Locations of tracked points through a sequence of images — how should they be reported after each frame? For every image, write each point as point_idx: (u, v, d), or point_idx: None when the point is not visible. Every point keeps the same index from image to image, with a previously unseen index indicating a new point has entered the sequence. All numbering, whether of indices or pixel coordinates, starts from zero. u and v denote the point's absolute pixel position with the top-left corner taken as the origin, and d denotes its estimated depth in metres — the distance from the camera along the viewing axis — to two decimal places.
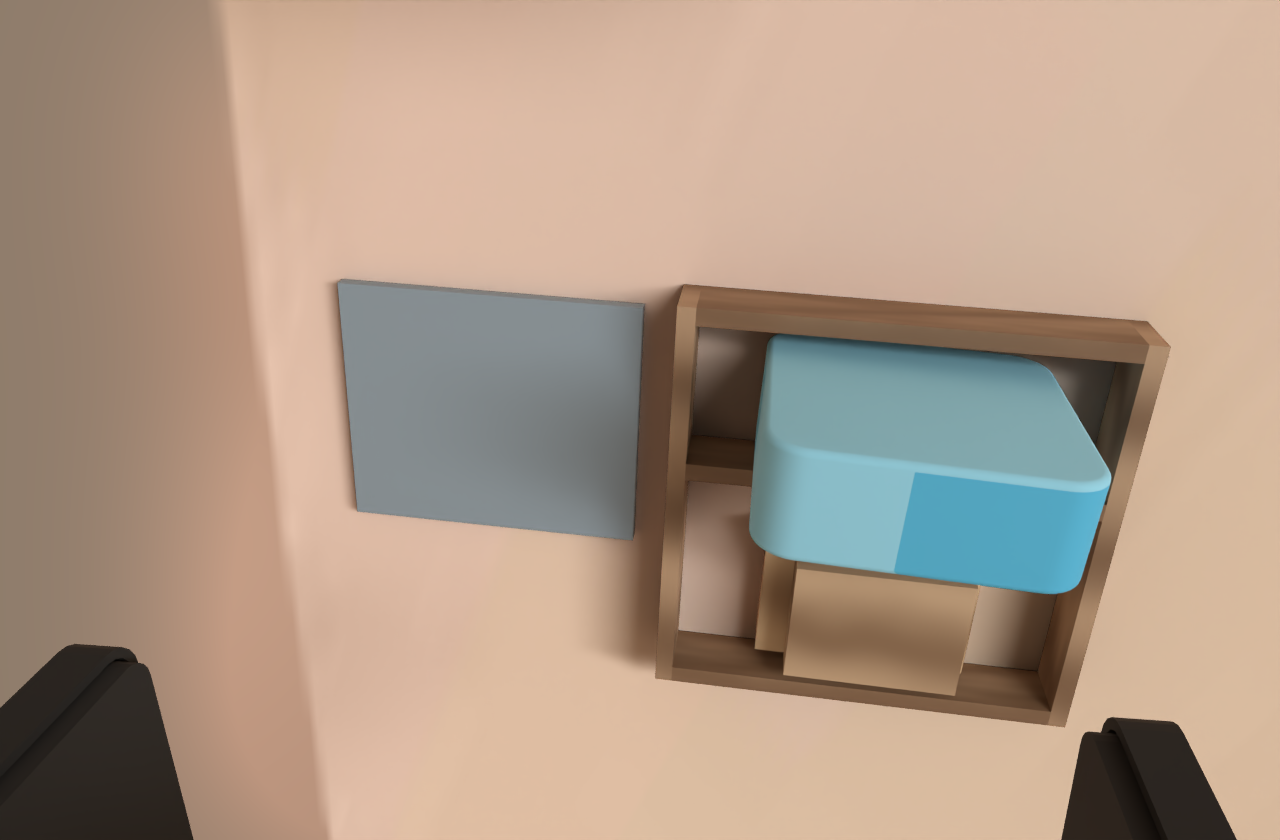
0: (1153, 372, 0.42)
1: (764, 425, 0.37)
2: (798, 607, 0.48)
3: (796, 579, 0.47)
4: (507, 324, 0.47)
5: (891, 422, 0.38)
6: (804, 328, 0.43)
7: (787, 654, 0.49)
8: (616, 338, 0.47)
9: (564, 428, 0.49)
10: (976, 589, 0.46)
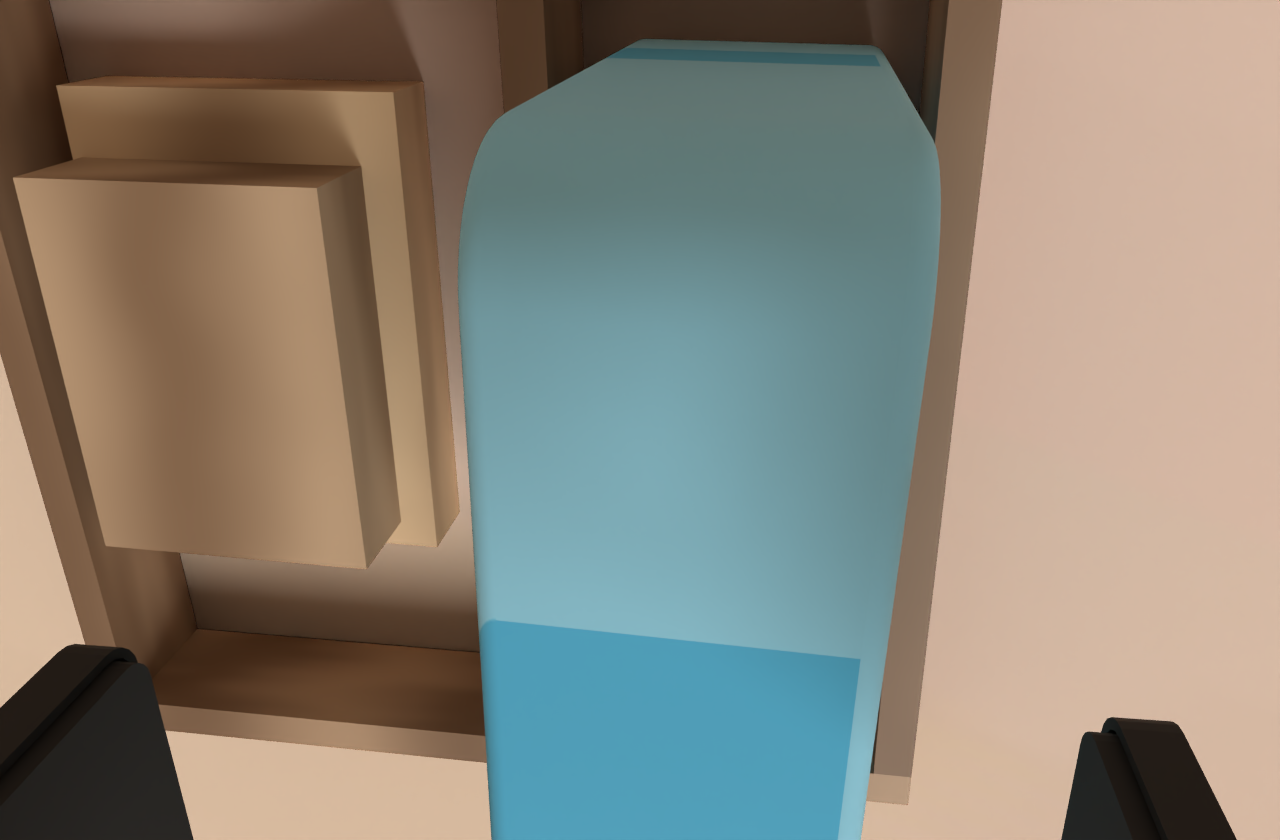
0: None
1: (923, 127, 0.10)
2: (211, 200, 0.19)
3: (286, 188, 0.19)
4: None
5: None
6: (953, 144, 0.17)
7: (73, 183, 0.19)
8: None
9: None
10: (364, 565, 0.22)
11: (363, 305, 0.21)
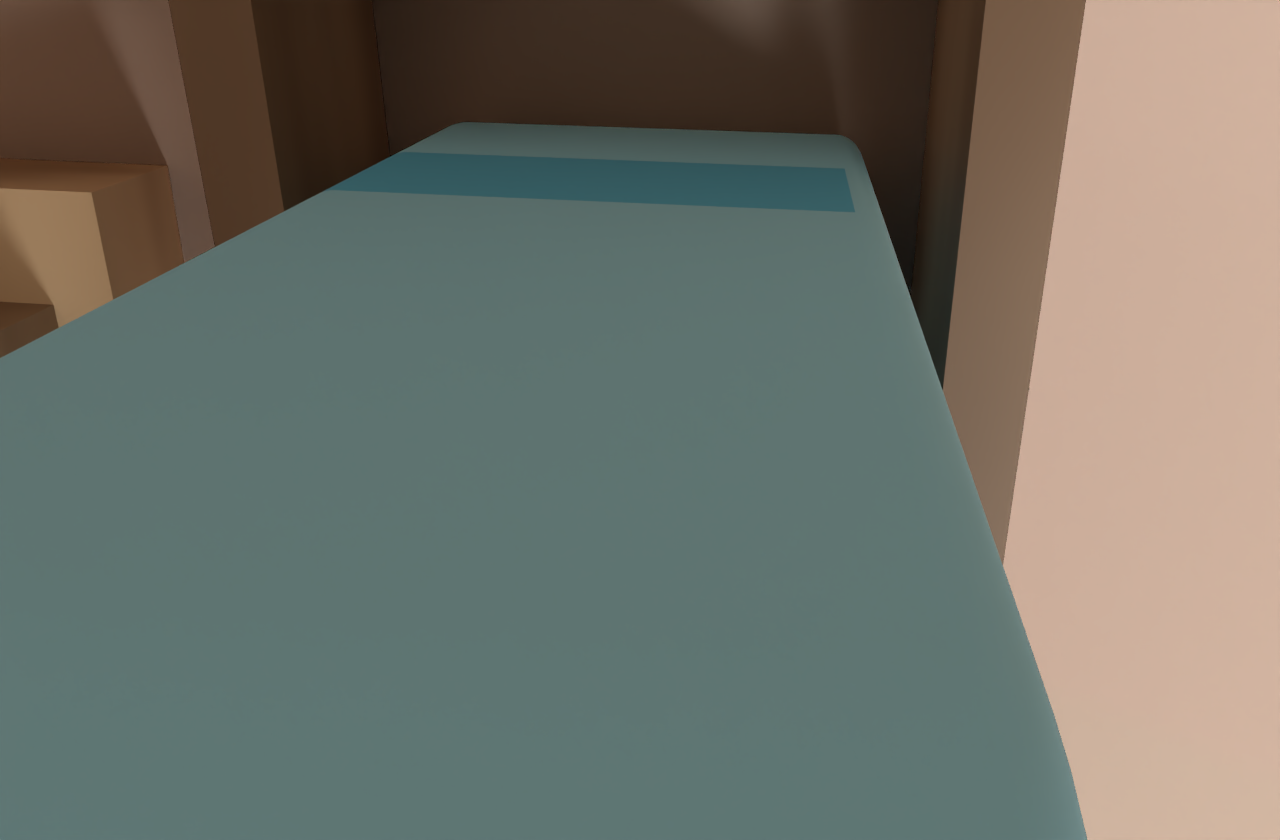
0: None
1: (1012, 641, 0.03)
2: None
3: None
4: None
5: None
6: (984, 311, 0.10)
7: None
8: None
9: None
10: None
11: None
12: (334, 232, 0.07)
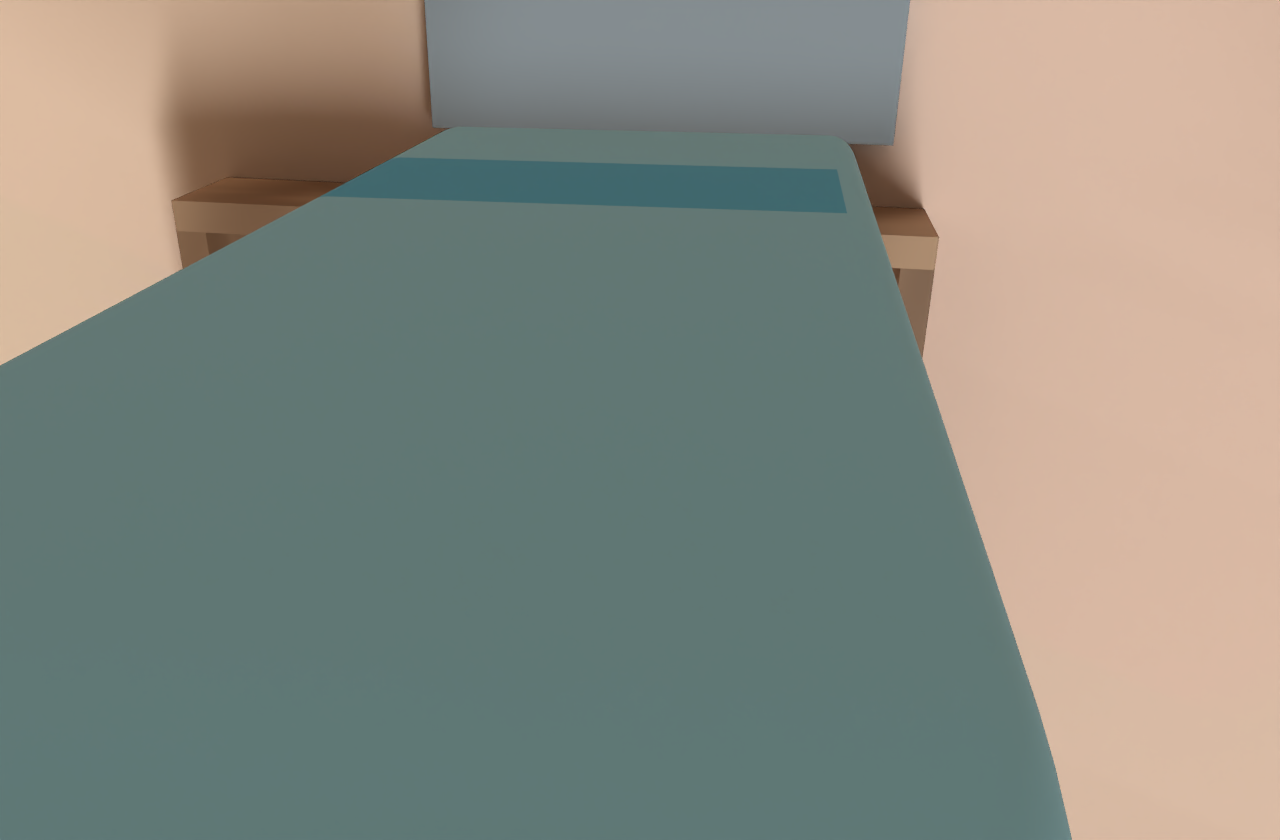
0: None
1: (996, 638, 0.03)
2: None
3: None
4: None
5: None
6: None
7: None
8: (837, 96, 0.26)
9: None
10: None
11: None
12: (328, 238, 0.07)
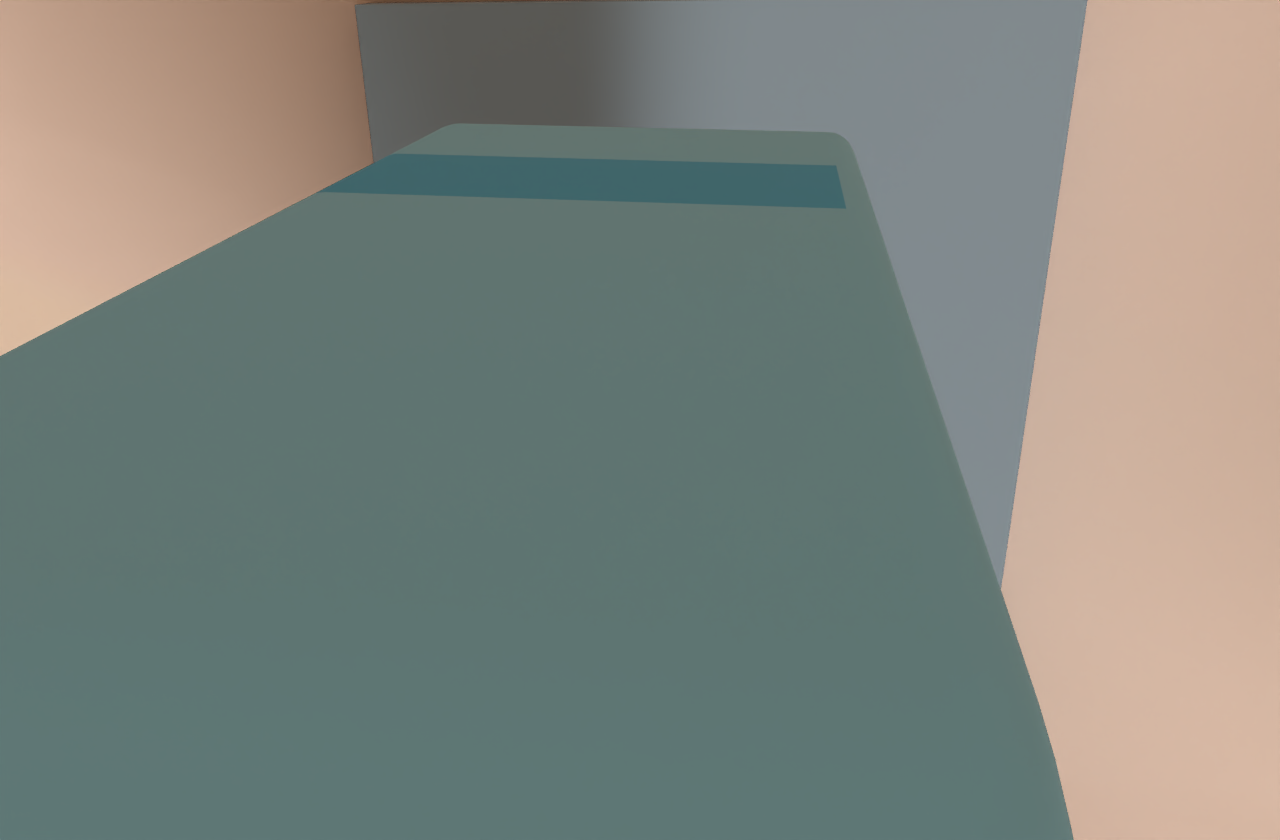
0: None
1: (995, 630, 0.03)
2: None
3: None
4: None
5: None
6: None
7: None
8: None
9: None
10: None
11: None
12: (325, 233, 0.07)
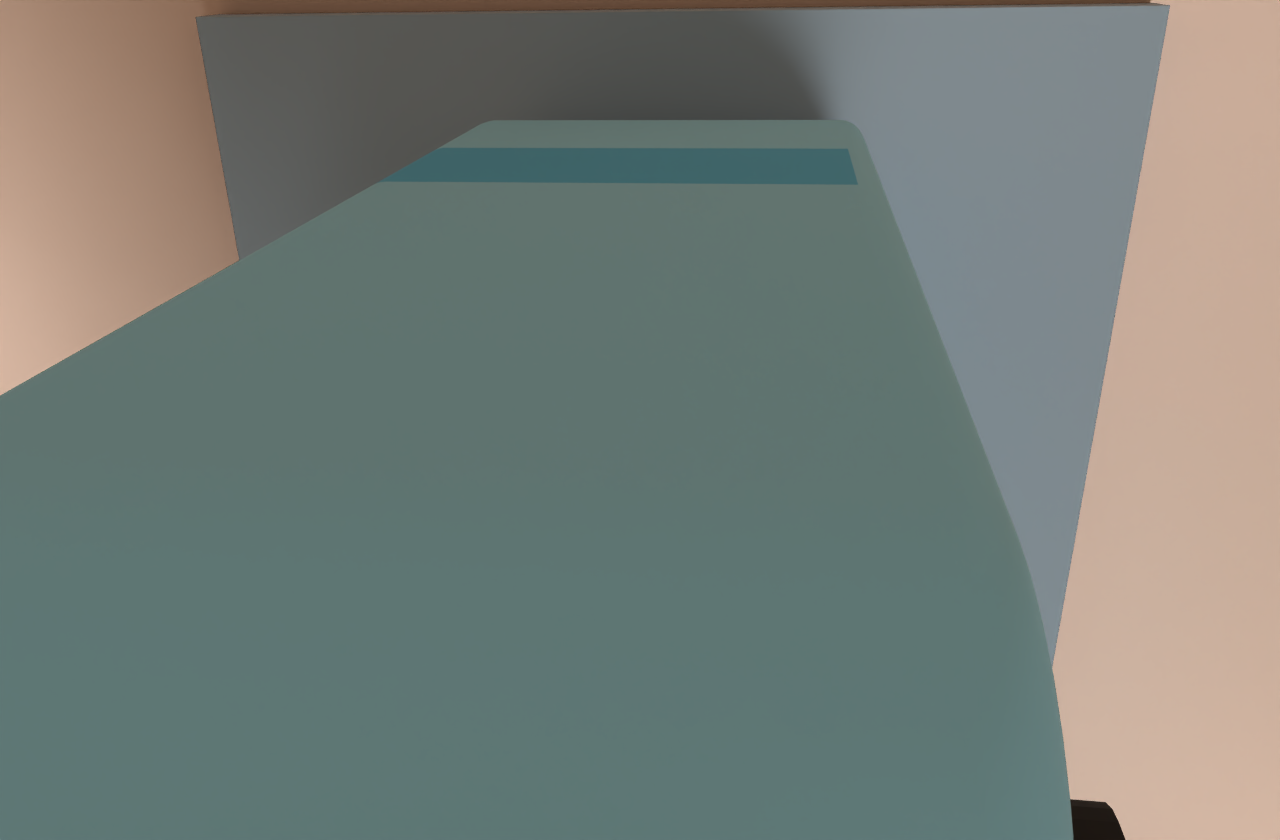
0: None
1: (985, 487, 0.04)
2: None
3: None
4: None
5: None
6: None
7: None
8: None
9: None
10: None
11: None
12: (394, 215, 0.08)
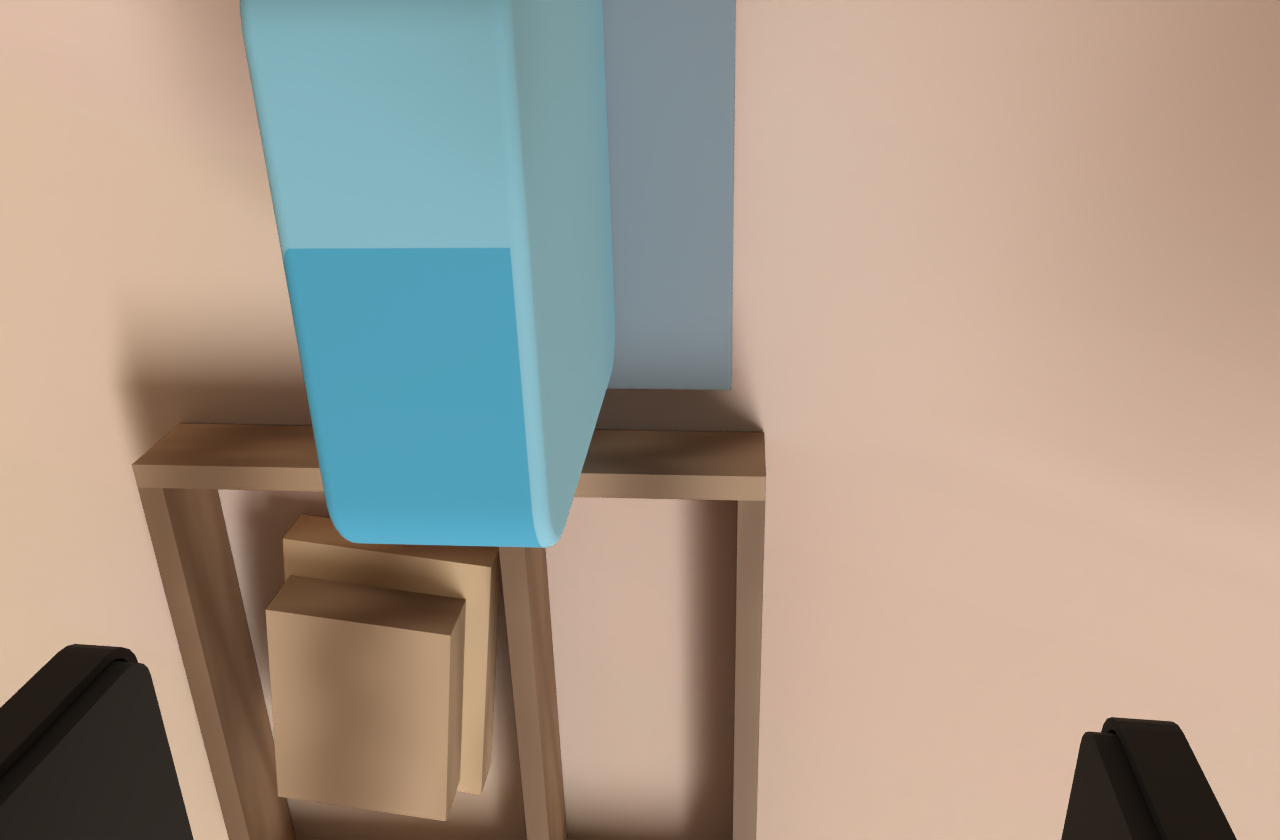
0: None
1: None
2: (386, 634, 0.33)
3: (432, 632, 0.33)
4: (686, 189, 0.29)
5: (555, 177, 0.21)
6: (745, 626, 0.32)
7: (302, 616, 0.33)
8: (681, 354, 0.31)
9: None
10: (444, 819, 0.36)
11: (459, 674, 0.35)
12: None
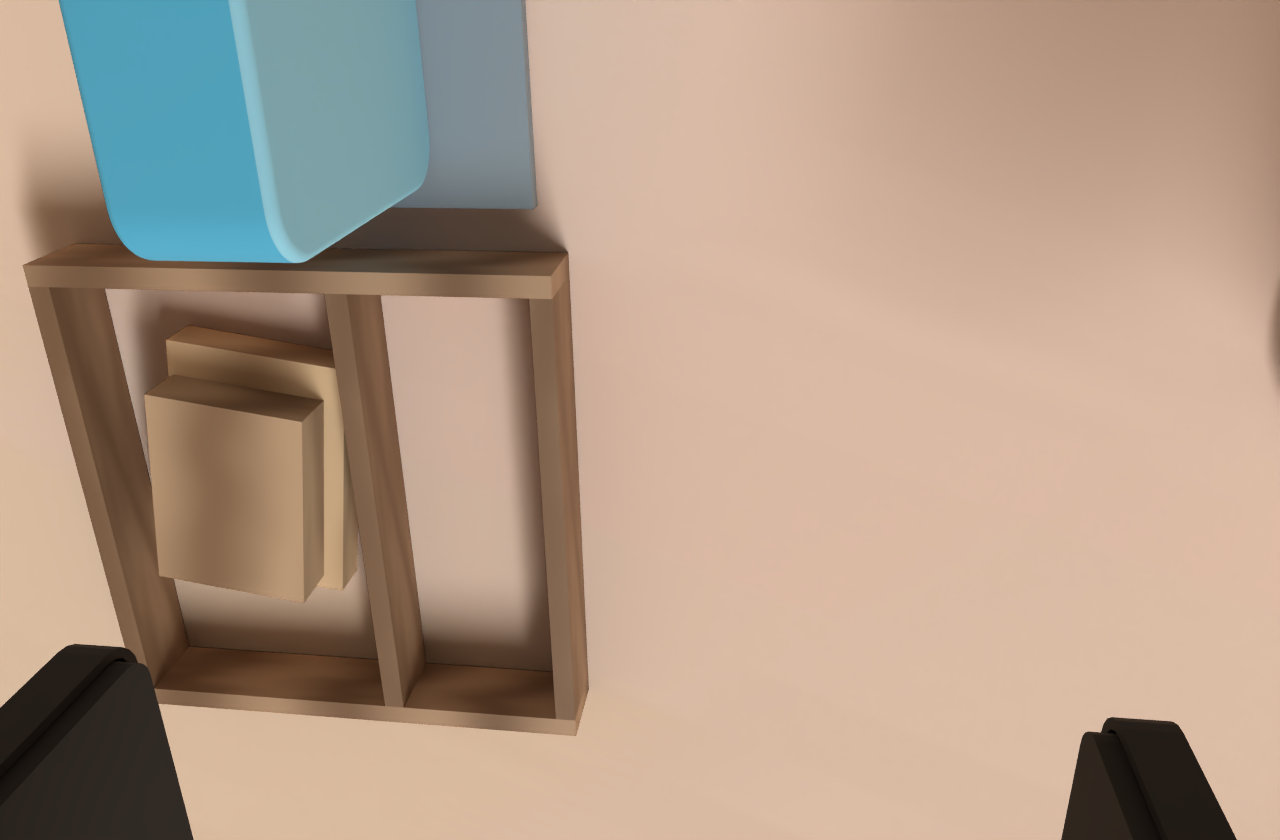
0: (548, 726, 0.43)
1: None
2: (247, 419, 0.38)
3: (286, 419, 0.38)
4: (483, 23, 0.34)
5: None
6: (544, 419, 0.37)
7: (176, 401, 0.38)
8: (488, 175, 0.36)
9: None
10: (303, 600, 0.41)
11: (317, 468, 0.40)
12: None
